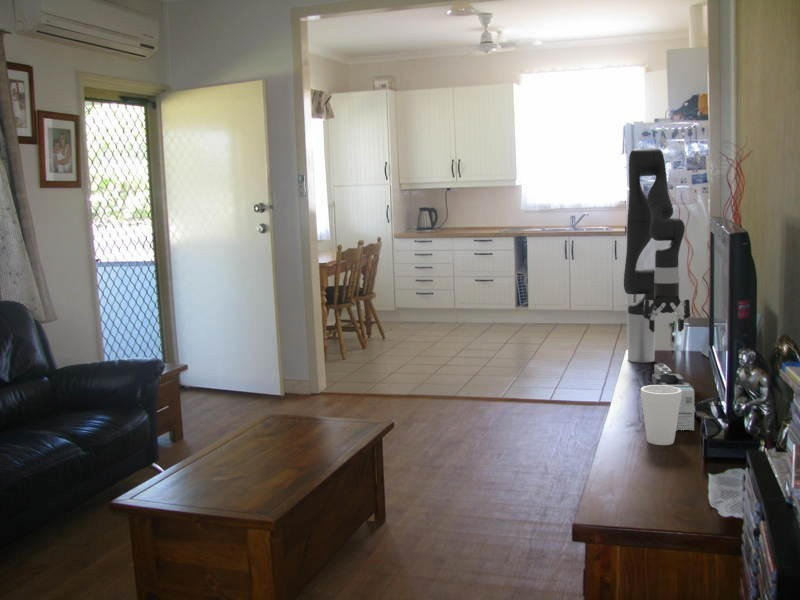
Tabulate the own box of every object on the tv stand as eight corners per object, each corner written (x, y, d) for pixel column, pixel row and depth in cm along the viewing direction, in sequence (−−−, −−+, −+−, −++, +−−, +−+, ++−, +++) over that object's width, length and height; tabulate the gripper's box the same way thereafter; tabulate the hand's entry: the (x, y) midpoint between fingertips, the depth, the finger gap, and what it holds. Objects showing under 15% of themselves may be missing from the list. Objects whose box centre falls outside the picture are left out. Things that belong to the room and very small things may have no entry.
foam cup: (675, 449, 195) (676, 395, 194) (636, 444, 200) (636, 391, 199) (684, 438, 203) (685, 387, 202) (646, 433, 208) (646, 383, 207)
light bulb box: (688, 423, 216) (689, 383, 215) (695, 431, 209) (695, 389, 208) (646, 424, 217) (647, 384, 216) (652, 431, 210) (652, 390, 209)
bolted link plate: (654, 376, 272) (654, 362, 272) (664, 376, 272) (665, 362, 271) (660, 383, 262) (660, 369, 262) (671, 383, 262) (671, 369, 261)
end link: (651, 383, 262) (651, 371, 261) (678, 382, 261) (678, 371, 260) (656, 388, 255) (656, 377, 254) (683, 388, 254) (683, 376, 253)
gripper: (686, 279, 266) (686, 329, 268) (641, 280, 267) (641, 329, 269) (692, 281, 258) (692, 332, 260) (646, 282, 260) (645, 333, 261)
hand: (666, 331), depth 264 cm, fingers open, 8 cm apart
